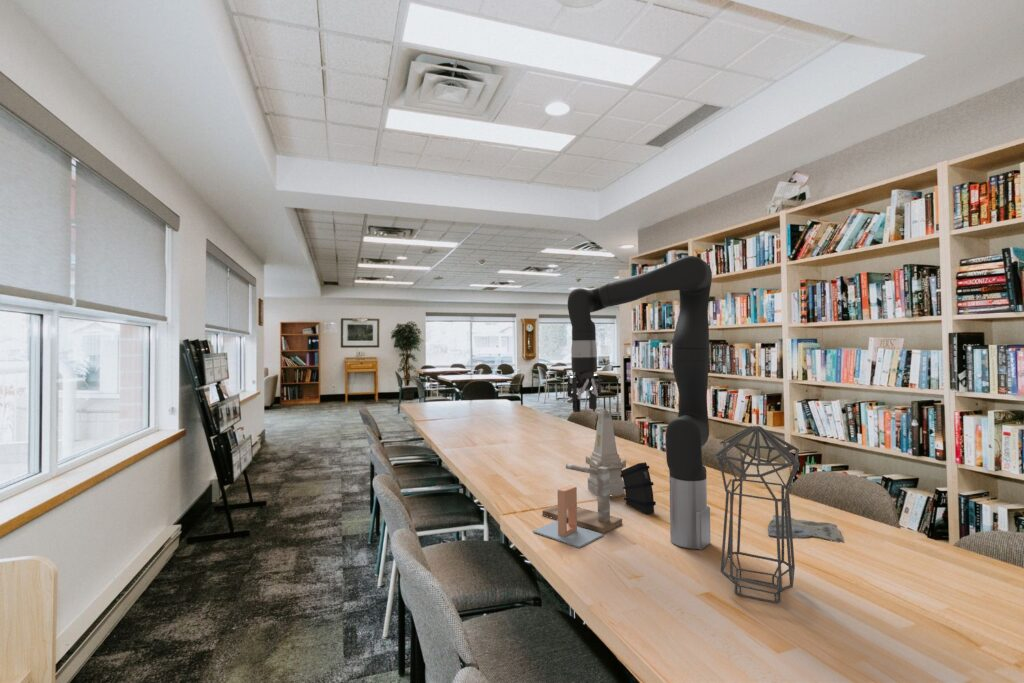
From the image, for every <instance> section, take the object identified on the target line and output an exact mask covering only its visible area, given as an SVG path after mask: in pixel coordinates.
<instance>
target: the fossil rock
mask: <svg viewBox="0 0 1024 683" xmlns="http://www.w3.org/2000/svg"><path fill="white" fill-rule="evenodd" d="M791 524H792V537H793V539H808V538H810V536H812V538H813V537H814V538H816V537H817V539H818V538H819V539H823V540H825V539H826V541H830V540H832V541H831V542H834V541H837V542H836V543H840V542H843V543H844V540H843V536H842V535H841V533H840V530H839V528H838V525H837V524H834V523H832V522H825V521H824V522H823V521H812V520H806V519H804V520H803V519H796V518H794V517H791ZM788 526H789V522H788ZM779 534H780V537H781V515H779ZM767 535H768V537H771V536H772V537H773V538H777V535H776V515H775V514H774V515H772V519H771V520H770V522H768V525H767ZM784 539H786V526H785V516H784ZM789 539H790V535H789Z"/></svg>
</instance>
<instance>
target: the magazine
mask: <svg viewBox="0 0 1024 683" xmlns="http://www.w3.org/2000/svg"><path fill="white" fill-rule="evenodd" d="M649 469H650V465H648V464H647V462H645V461H644V462H639V463H636V464H633V465H632V466H629V467H625V469H624V468H623V469H622V471H621V473H622V474H621V475H620V476H621V477H622V480H623V481H624V486H625V487H623V489H625V497H624V498H623V500H624V501H625V505H627V506H628V505H629V507H630V506H631V507H630V508H632V507H633V509H635V510H637V511H639V512H641V513H644V514H646V515H649V514H650V515H651V514H654V513H655V506H656V505H657V502H656V501H655V500H654V492H653V486H654V482H653V481H652V479H651V475H650V472H649Z"/></svg>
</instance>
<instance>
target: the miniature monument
mask: <svg viewBox="0 0 1024 683" xmlns="http://www.w3.org/2000/svg"><path fill="white" fill-rule="evenodd" d="M616 444H617V443H616V437H615V432H614V424H613V419H612V414H611V413H610V412H609V411H608V410H607V409H606V408H605V407H604V408H603V410H601V411H600V412H599V413H598V418H597V425H596V432H595V440H594V447H593V451H592V452H591V455H589V456H590V457H589V456H587V455H586V456H585V464H586V465H588V466H589V468H593V469H597V468H598V467H602V466H603V467H608V468H609V481H610V495H615V496H622V495H621V494H624V495H626V493H625V489H623V487H625V486H624V481H623V477H621V476H620V475H621V474H622V473H621V471H622V470H624V468H625V469H626V468H627V460H626V459H624V460H622V459H621V457H620V454H619V453H618V450H617V445H616ZM588 489H589V490H590V491H589V490H588ZM587 490H588V491H589V492H591V491H592V492H591V493H593V494H594V493H595V495H596V494H597V495H598V493H597V475H595V474H590V473H589V476H588V477H587ZM597 495H596V496H597Z"/></svg>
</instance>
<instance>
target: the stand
mask: <svg viewBox="0 0 1024 683" xmlns="http://www.w3.org/2000/svg"><path fill="white" fill-rule="evenodd" d="M565 469H567V470H571V471H576V472H581V473H585V474H589V475H590V474H595V475H597V493H598V496H597V511H596V510H595V511H594V510H592V509H591V510H590V509H586V508H584V507H583V508H582V507H581V506H580V507H578V506H577V525H578V527H581V528H583V527H584V529H586V528H587V529H588V530H591V531H594V532H596V531H597V532H598V533H600V532H601V534H606V533H607V532H610V531H611V530H613V529H615V528H617V527H619V526H621V525H622V524H623V518H620V517H616V516H613V515H611V503H610V502H611V501H610V499H611V496H610V481H609V468H608V467H603V466H602V467H598V468H597V469H593V468H590V467H588V466H587V467H586V466H584V465H583V466H581V465H577V464H572V463H566V465H565ZM566 510H567V523H568V509H566ZM541 513H542V516H543V515H545V516H544V517H546V516H548V517H547V518H549V517H552V518H551V519H553V518H555V519H554V520H556V519H558V504H556V505H553V506H551V507H548V508H545V509H543V510H542V512H541ZM620 524H621V525H620ZM616 526H617V527H616Z"/></svg>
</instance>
